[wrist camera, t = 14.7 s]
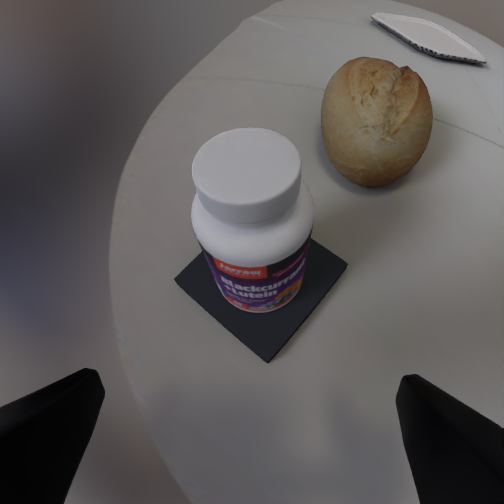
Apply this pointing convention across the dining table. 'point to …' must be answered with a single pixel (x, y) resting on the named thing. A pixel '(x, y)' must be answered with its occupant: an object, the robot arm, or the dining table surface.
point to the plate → (429, 38)
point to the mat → (269, 323)
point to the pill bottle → (252, 216)
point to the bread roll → (375, 120)
